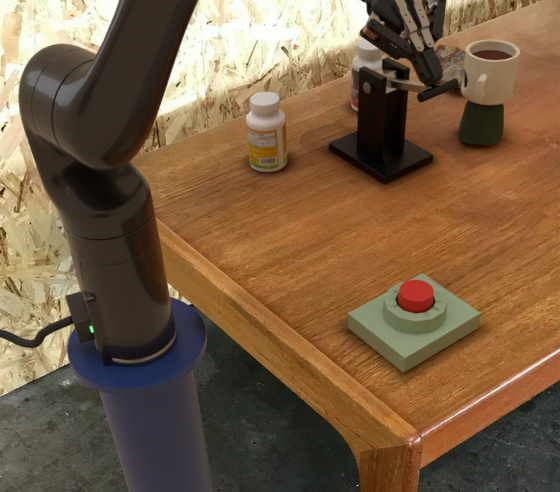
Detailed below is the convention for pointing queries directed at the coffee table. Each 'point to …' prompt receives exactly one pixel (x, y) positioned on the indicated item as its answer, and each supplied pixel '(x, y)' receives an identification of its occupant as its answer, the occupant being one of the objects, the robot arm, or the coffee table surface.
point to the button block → (412, 325)
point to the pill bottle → (365, 57)
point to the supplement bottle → (266, 133)
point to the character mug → (487, 89)
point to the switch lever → (416, 86)
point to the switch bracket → (381, 129)
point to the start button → (415, 296)
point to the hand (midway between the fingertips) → (435, 82)
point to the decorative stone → (451, 62)
